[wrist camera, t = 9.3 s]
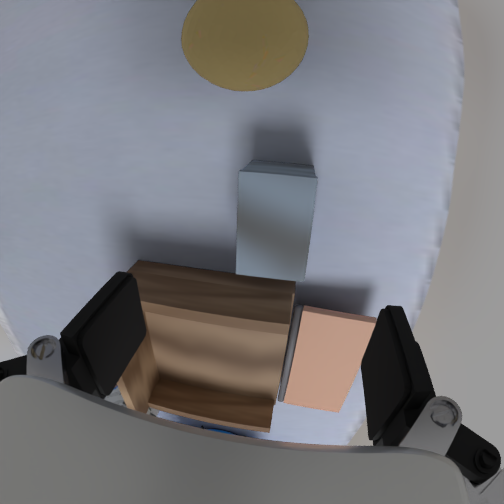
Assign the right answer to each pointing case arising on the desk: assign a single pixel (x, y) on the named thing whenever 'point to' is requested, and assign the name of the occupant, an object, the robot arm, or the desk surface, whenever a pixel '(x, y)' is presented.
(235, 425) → the brown open box
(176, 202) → the desk surface
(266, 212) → the blue gray block
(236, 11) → the light bulb
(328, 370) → the panel
